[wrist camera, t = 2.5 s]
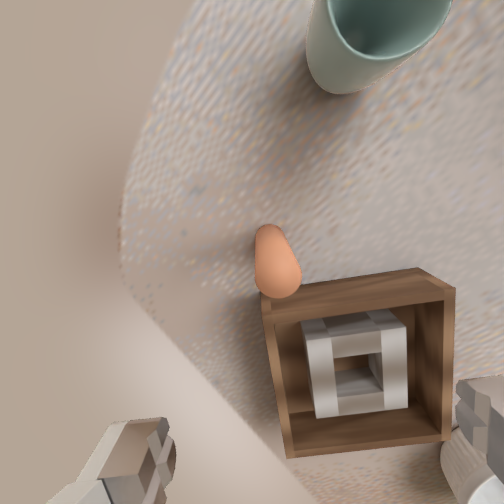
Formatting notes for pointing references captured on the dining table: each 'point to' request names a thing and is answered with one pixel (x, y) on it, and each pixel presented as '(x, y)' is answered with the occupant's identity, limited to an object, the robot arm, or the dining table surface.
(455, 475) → the ramekin
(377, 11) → the cup
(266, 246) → the peg
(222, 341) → the dining table surface
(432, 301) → the box
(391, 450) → the dining table surface
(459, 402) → the robot arm
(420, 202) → the dining table surface
